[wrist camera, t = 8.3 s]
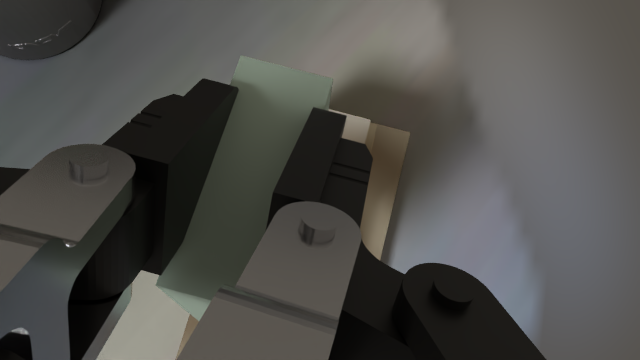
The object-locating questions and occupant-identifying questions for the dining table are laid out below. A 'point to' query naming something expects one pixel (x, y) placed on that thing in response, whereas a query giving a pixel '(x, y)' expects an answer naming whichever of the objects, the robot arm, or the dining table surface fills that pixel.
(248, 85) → the tall sheet
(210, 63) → the dining table surface
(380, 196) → the rack
